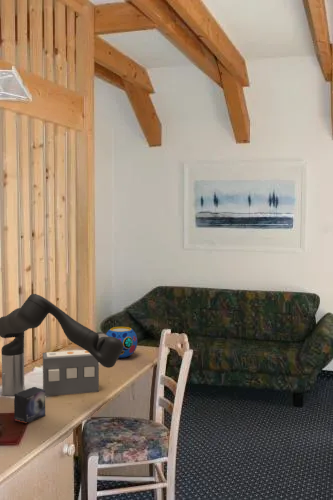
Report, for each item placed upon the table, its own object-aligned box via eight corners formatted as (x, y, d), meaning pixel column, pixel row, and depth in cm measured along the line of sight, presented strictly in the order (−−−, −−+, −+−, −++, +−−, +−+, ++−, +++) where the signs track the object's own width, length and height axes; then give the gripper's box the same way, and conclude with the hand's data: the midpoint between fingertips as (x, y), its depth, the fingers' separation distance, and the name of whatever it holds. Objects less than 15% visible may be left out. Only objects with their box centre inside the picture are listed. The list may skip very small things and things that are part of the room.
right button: (84, 377, 243) (84, 367, 242) (83, 375, 245) (83, 365, 245) (94, 376, 244) (94, 366, 243) (93, 374, 247) (93, 364, 246)
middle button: (66, 378, 241) (66, 368, 240) (65, 376, 244) (65, 366, 243) (76, 377, 242) (76, 367, 241) (76, 375, 245) (76, 365, 244)
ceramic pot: (101, 361, 292) (101, 332, 291) (106, 352, 310) (106, 325, 309) (135, 361, 292) (135, 332, 290) (138, 352, 309) (138, 325, 308)
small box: (26, 425, 208) (25, 397, 207) (13, 421, 211) (12, 393, 210) (46, 416, 217) (46, 389, 216) (34, 412, 220) (33, 386, 219)
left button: (48, 381, 237) (48, 371, 236) (48, 379, 240) (48, 369, 239) (59, 380, 238) (59, 370, 237) (58, 378, 241) (58, 368, 240)
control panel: (44, 396, 239) (43, 357, 237) (43, 388, 248) (42, 351, 247) (98, 391, 245) (98, 353, 243) (95, 384, 254) (95, 348, 253)
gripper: (83, 353, 213) (76, 345, 230) (117, 353, 217) (108, 345, 234) (84, 333, 213) (77, 326, 230) (119, 334, 217) (109, 327, 234)
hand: (93, 336), depth 232 cm, fingers closed
